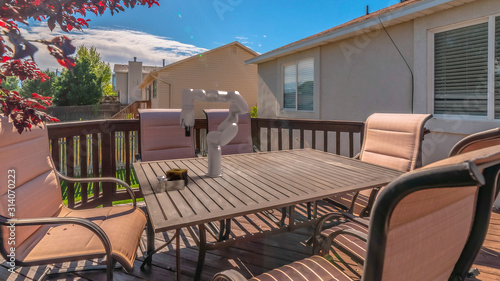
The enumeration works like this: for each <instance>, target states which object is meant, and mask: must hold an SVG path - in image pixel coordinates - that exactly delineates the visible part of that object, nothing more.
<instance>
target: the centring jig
mask: <svg viewBox="0 0 500 281" xmlns="http://www.w3.org/2000/svg"><path fill="white" fill-rule="evenodd" d="M164 179H166V177H165V178H163V179H161V180H164ZM178 190H179V191H180V190H185V187H184V180H181V181H167V182H166V181H165V182H162V183H159V182H158V183H157V184H156V192H157V193H160V194H162V193H165V192H166V191H178Z"/></svg>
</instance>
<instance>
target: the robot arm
mask: <svg viewBox="0 0 500 281" xmlns="http://www.w3.org/2000/svg"><path fill="white" fill-rule="evenodd" d="M180 94H181V110H180V114H179V115H180V116H179V125H180V126H181V128H183V129H184V136H185V137H186V138H189V137H191V135H192V134H191V133H192V132H191V131H192V128H193V127H194V126H195V111H194V110H195V109H194V106H195V105H194V104H195V103H194V102H207V103H208V102H209V103H222V104H230V105H229V106H228V116H227V117H226V118H225V119H224V120H223V121H221V123H220V124H219V125H218V126H217V130H212V131H209V132H208V133H207V134H206V138H205V140H206V145H207V172H206V173H205V176H206V177H209V178H220V177H223V176H224V172H222V171H224V167H222V148H221V147H224V146H226V145H228V144H229V142H231V141H232V140H233V139H234V138H235V137H236V135H237V134H238V131H239V126H238V123H239V115H245V114H248V112H249V105H248V103H247V101H246V99H244V97H243V96H242V95H241V94H240V93H239V91H236V90H221V89H207V90H205V89H203V88H193V89H192V88H182V89H181V93H180Z"/></svg>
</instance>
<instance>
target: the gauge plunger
mask: <svg viewBox="0 0 500 281" xmlns="http://www.w3.org/2000/svg"><path fill="white" fill-rule="evenodd" d="M163 178H165V179H164V180H162V179H163ZM156 179H157V180H158V183H162V182H165V181H168V180H171V179H172V177H170V178H167V179H166V176H164V175H158V176H156Z"/></svg>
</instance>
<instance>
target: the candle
mask: <svg viewBox="0 0 500 281" xmlns="http://www.w3.org/2000/svg"><path fill="white" fill-rule="evenodd" d="M188 172H189V171H188V169H187V168H171V169H169V170H166V171H165V173H166V174H165V175H166V176H165V179H167V178H170V177H172V179H171V180H168V181H181V180H184V188H185V187H187V186H188V184H189V178H188V175H189V174H188ZM166 182H167V181H166Z"/></svg>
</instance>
